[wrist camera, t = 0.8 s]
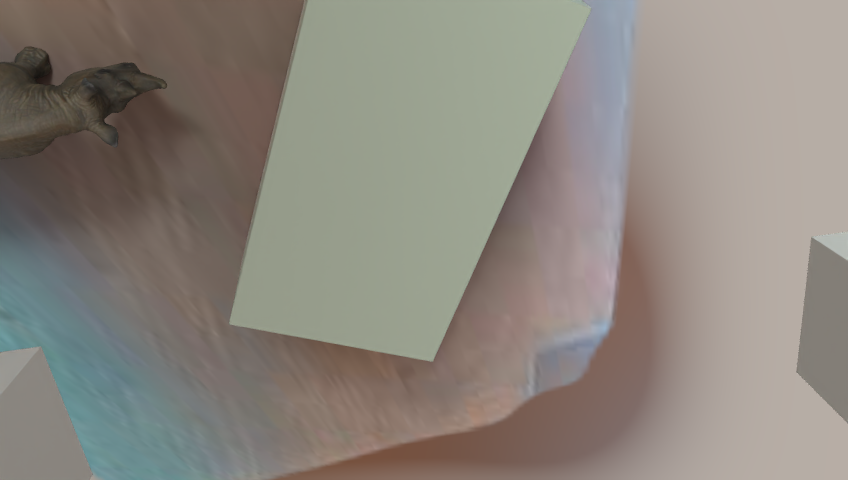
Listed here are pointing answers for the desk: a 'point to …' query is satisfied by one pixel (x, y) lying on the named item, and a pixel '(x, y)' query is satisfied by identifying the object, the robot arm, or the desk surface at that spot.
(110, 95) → the rhino figurine
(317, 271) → the block
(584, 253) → the desk surface
